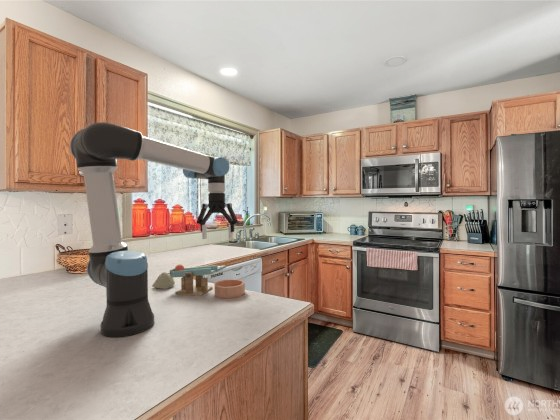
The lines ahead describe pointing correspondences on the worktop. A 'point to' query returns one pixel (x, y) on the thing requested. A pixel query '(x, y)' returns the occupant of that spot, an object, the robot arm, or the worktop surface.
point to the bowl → (229, 288)
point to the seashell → (164, 281)
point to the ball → (179, 268)
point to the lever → (196, 271)
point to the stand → (191, 289)
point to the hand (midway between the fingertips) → (217, 239)
